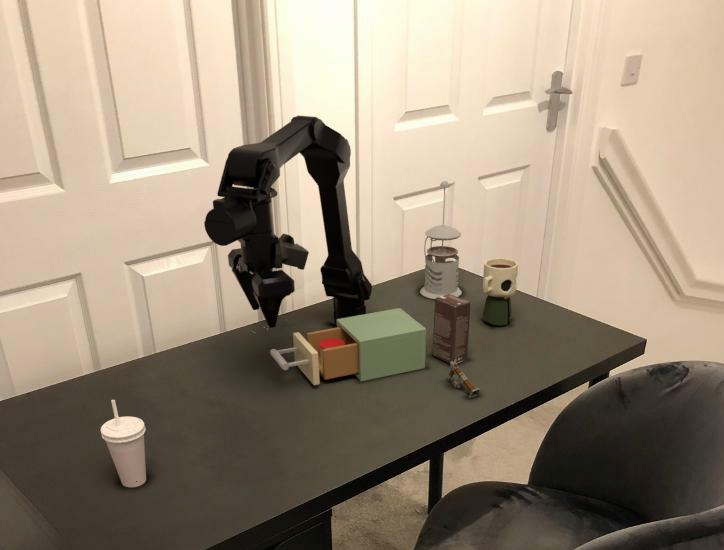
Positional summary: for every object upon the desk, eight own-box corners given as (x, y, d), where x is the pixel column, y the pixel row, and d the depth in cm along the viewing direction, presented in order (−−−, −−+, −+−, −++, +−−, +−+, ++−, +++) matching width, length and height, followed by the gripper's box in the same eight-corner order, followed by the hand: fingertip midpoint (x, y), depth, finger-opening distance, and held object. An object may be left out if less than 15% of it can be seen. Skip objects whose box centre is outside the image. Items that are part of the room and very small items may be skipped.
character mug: (495, 334, 173) (499, 273, 165) (468, 325, 177) (471, 265, 169) (524, 318, 179) (530, 260, 172) (498, 310, 183) (502, 252, 176)
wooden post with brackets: (448, 374, 155) (456, 357, 151) (472, 404, 152) (480, 388, 148) (441, 376, 154) (448, 360, 150) (465, 407, 151) (473, 390, 147)
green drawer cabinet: (360, 381, 155) (360, 341, 150) (338, 357, 163) (336, 319, 159) (425, 368, 159) (426, 329, 155) (399, 345, 168) (399, 307, 163)
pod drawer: (286, 391, 150) (283, 359, 146) (268, 368, 158) (265, 337, 154) (375, 372, 156) (375, 341, 152) (354, 351, 164) (353, 321, 160)
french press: (433, 302, 187) (436, 188, 173) (408, 286, 196) (410, 177, 182) (469, 295, 191) (476, 183, 177) (444, 279, 200) (448, 171, 185)
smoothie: (116, 470, 130) (98, 391, 122) (158, 468, 130) (142, 389, 122) (109, 493, 124) (89, 411, 116) (152, 491, 125) (135, 409, 117)
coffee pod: (314, 363, 157) (313, 344, 154) (332, 355, 160) (331, 336, 157) (333, 371, 154) (332, 351, 152) (350, 362, 157) (350, 342, 155)
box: (468, 359, 162) (471, 301, 156) (451, 366, 160) (454, 307, 153) (447, 349, 166) (450, 292, 159) (431, 355, 164) (432, 298, 157)
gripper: (321, 238, 133) (325, 329, 142) (283, 210, 147) (289, 294, 156) (255, 247, 129) (263, 340, 138) (223, 217, 143) (232, 303, 152)
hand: (263, 318), depth 146 cm, fingers open, 9 cm apart
